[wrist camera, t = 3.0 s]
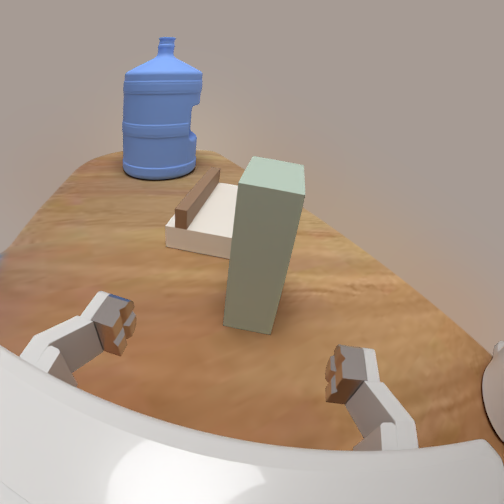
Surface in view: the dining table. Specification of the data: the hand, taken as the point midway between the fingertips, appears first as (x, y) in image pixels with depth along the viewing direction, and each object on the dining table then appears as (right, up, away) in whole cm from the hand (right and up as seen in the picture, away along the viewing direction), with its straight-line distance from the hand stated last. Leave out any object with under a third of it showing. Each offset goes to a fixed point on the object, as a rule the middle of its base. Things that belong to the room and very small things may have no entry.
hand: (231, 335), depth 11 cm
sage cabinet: (+1, -2, +19) cm, 19 cm away
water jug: (-19, +21, +49) cm, 56 cm away
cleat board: (-3, +7, +32) cm, 33 cm away
